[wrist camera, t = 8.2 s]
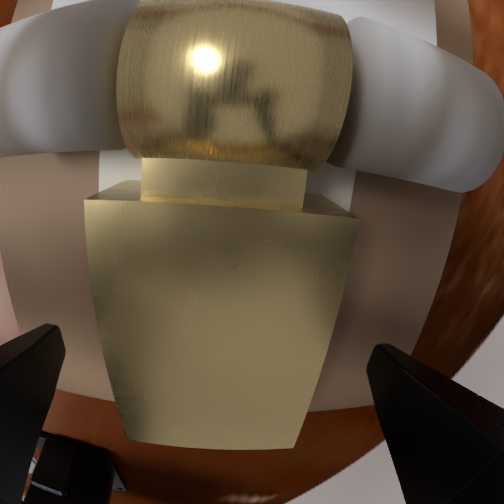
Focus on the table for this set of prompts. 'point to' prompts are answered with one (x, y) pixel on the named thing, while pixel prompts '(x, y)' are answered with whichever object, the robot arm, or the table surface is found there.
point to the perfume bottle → (222, 221)
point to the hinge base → (320, 182)
